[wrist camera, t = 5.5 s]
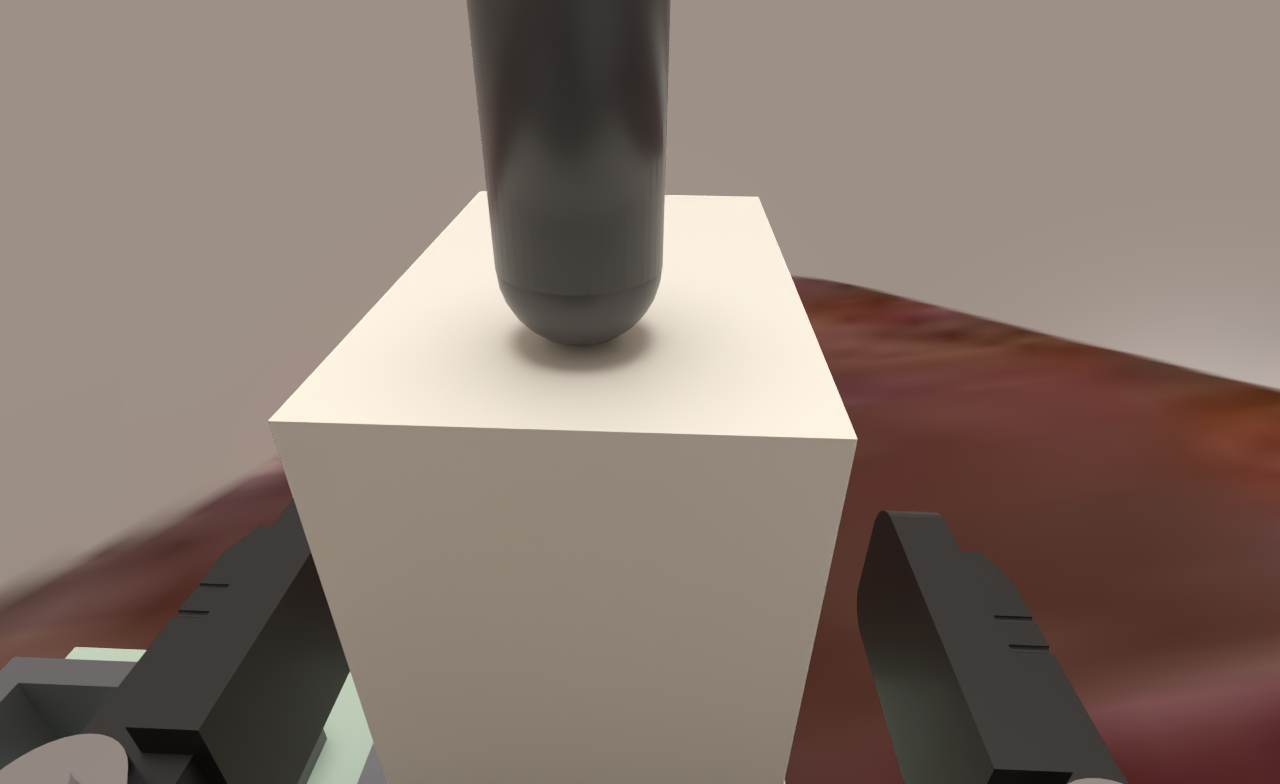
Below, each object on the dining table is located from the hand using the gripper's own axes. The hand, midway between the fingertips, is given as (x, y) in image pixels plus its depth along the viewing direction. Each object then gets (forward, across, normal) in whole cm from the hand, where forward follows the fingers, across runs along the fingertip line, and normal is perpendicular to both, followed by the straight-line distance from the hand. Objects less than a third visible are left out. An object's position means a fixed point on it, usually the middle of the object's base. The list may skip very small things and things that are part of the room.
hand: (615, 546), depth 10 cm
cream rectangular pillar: (-2, 0, +8) cm, 8 cm away
